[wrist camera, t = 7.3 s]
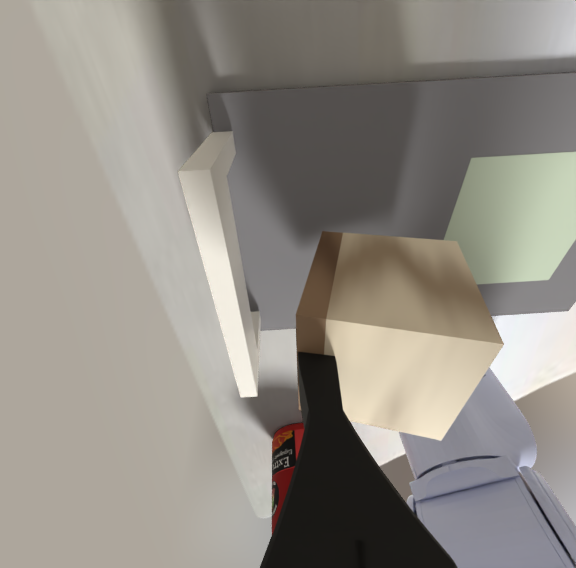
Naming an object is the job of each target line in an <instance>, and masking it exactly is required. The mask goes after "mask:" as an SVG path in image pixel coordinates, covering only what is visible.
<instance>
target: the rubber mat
mask: <svg viewBox="0 0 576 568" xmlns="http://www.w3.org/2000/svg"><path fill="white" fill-rule="evenodd" d="M207 99H208V105H209V110H210V115H211V121H212V126H213V131H214V132H226V131H233V137H234V144H235V151H236V154H235V157H234V159H233V162H232V164H231V167H230V169H229V172H228V174H227V181H228V186H229V192H230V198H231V203H232V209H233V215H234V220H235V226H236V232H237V237H238V243H239V249H240V254H241V260H242V266H243V272H244V277H245V283H246V289H247V294H248V300H249V306H250V311H251V312H255V311H259V312H260V319H261V328H260V331H264V330H279V329H295V328H296V312H297V309H298V306H299V303H300V300H301V296H302V293H303V290H304V287H305V284H306V281H307V278H308V275H309V271H310V268H311V265H312V262H313V259H314V256H315V253H316V250H317V246H318V243H319V240H320V237H321V234H322V231H328V232H342V233H355V234H368V235H381V236H395V237H408V238H421V239H434V240H448V241H457V242H458V245H459V247H460V249H461V251H462V253H463V256H464V258H465V260H466V262H467V264H468V267H469V269H470V271H471V273H472V275H473V278H474V280H475V282H476V284H477V286H478V289H479V291H480V293H481V295H482V297H483V300H484V302H485V304H486V306H487V308H488V310H489V313H490V315H491V316H498V315H514V314H530V313H545V312H561V311H569V309H570V308H571V307H572V306H573V304H574V303H575V302H576V72H568V73H550V74H533V75H516V76H498V77H481V78H464V79H446V80H429V81H412V82H394V83H377V84H360V85H342V86H325V87H308V88H290V89H273V90H256V91H238V92H221V93H208V94H207Z"/></svg>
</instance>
